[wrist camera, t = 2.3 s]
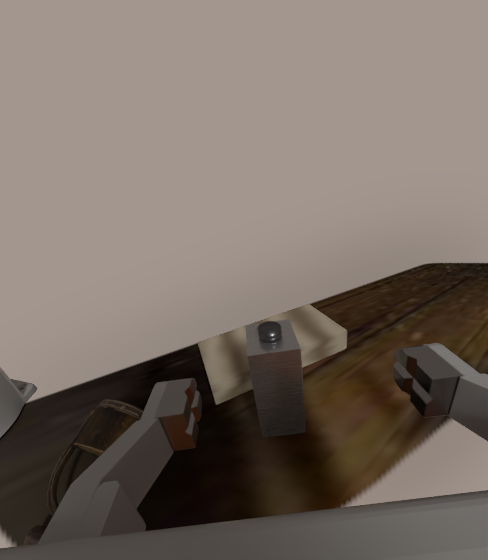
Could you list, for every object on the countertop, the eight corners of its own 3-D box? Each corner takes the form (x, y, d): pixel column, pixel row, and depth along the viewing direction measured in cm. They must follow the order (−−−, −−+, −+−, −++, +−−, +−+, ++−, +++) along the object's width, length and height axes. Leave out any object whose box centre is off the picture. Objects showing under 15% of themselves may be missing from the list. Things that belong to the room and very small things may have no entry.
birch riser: (216, 405, 30) (210, 386, 29) (202, 358, 39) (197, 342, 38) (346, 348, 36) (347, 330, 35) (309, 319, 45) (308, 304, 44)
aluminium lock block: (262, 437, 26) (245, 347, 21) (258, 399, 30) (244, 317, 25) (305, 432, 26) (300, 340, 20) (295, 394, 30) (288, 311, 25)
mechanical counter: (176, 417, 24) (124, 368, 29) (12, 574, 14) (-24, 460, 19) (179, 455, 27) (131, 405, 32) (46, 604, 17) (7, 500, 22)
